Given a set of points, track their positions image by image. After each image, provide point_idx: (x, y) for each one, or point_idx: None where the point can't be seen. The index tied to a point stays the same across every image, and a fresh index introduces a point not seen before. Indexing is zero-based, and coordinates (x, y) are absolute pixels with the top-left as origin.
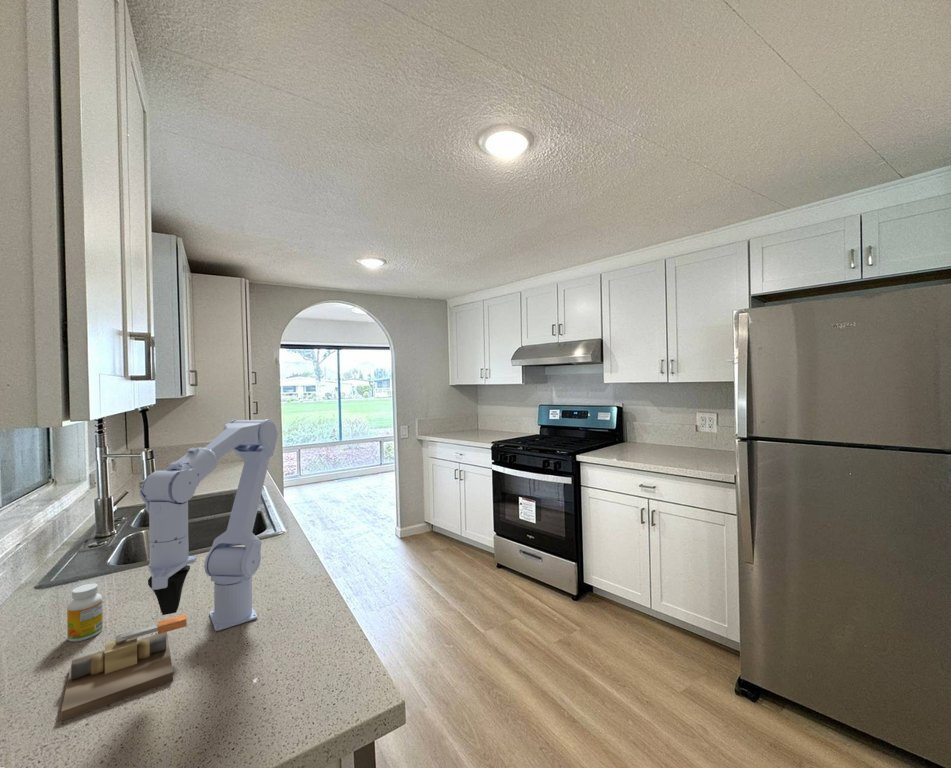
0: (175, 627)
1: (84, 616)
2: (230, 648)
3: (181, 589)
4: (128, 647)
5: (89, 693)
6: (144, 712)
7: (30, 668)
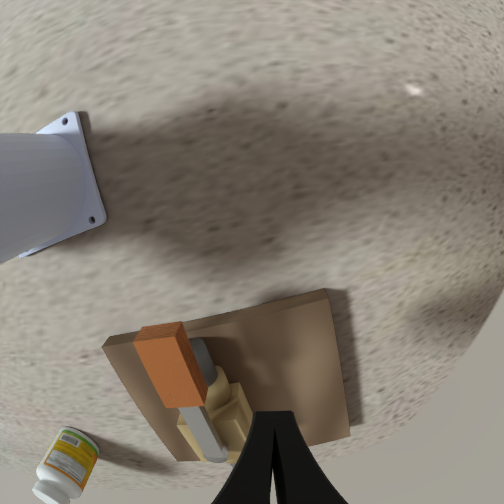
0: (190, 354)
1: (80, 473)
2: (220, 158)
3: (263, 488)
4: (241, 427)
5: (317, 422)
6: (409, 314)
7: (163, 478)
